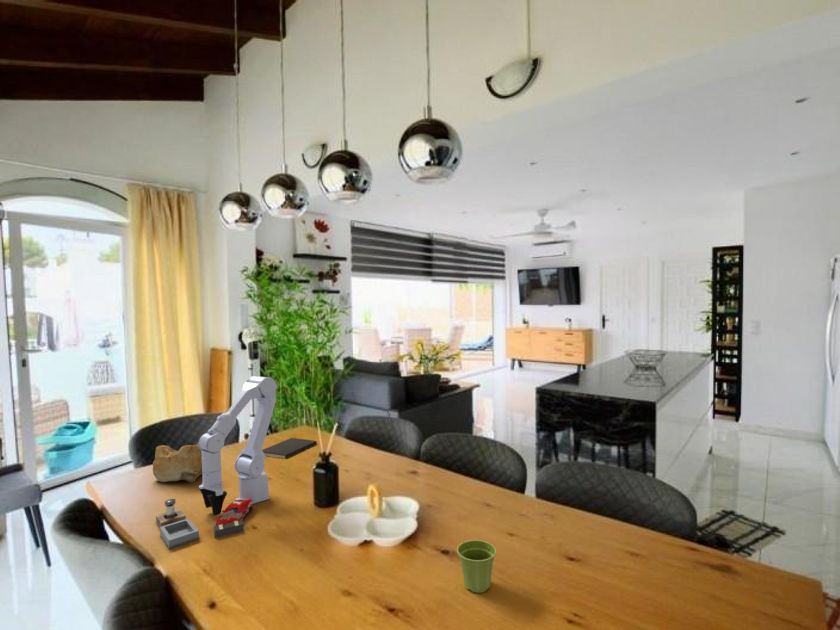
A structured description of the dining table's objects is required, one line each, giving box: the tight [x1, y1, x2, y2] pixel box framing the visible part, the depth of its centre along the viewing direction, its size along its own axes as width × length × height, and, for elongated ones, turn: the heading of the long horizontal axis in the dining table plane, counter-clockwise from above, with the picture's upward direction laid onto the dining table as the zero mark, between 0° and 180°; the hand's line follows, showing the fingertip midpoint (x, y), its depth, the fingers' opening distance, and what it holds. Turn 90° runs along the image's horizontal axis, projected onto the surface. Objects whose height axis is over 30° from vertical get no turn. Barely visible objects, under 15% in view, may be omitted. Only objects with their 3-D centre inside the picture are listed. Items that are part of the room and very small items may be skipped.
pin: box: [164, 498, 176, 519], centre depth 144 cm, size 3×3×7 cm
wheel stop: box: [213, 520, 244, 539], centre depth 137 cm, size 8×3×3 cm, turn 118°
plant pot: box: [456, 539, 497, 594], centre depth 108 cm, size 9×9×9 cm
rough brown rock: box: [152, 443, 202, 483], centre depth 184 cm, size 23×17×15 cm
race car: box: [215, 498, 254, 526], centre depth 146 cm, size 16×7×5 cm, turn 174°
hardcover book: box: [262, 437, 318, 460], centre depth 217 cm, size 16×23×2 cm
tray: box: [159, 518, 200, 550], centre depth 135 cm, size 8×11×2 cm
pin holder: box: [155, 508, 187, 528], centre depth 144 cm, size 7×7×2 cm
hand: (213, 510), depth 148 cm, fingers open, 7 cm apart
